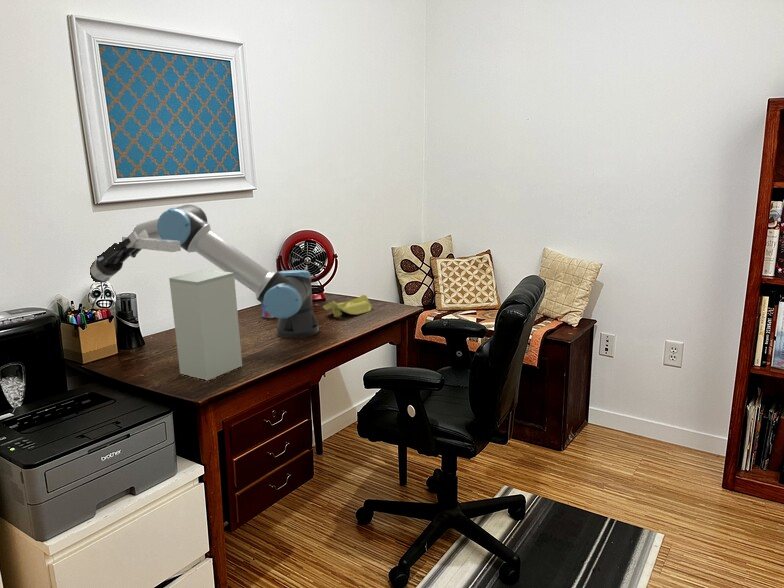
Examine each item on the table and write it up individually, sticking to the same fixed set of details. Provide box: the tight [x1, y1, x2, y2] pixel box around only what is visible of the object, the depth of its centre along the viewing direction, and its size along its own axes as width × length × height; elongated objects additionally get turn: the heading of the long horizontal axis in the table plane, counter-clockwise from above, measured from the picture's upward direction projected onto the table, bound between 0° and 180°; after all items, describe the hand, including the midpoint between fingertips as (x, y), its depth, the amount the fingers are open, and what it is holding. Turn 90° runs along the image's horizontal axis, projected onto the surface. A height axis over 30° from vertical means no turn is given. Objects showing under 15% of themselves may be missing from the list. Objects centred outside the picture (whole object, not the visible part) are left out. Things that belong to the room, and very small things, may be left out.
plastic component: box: [322, 294, 373, 318], centre depth 250 cm, size 20×7×10 cm
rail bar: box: [122, 237, 182, 253], centre depth 194 cm, size 24×3×3 cm, turn 58°
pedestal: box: [168, 268, 243, 380], centre depth 188 cm, size 12×14×30 cm
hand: (141, 234), depth 196 cm, fingers closed on rail bar, 3 cm apart
